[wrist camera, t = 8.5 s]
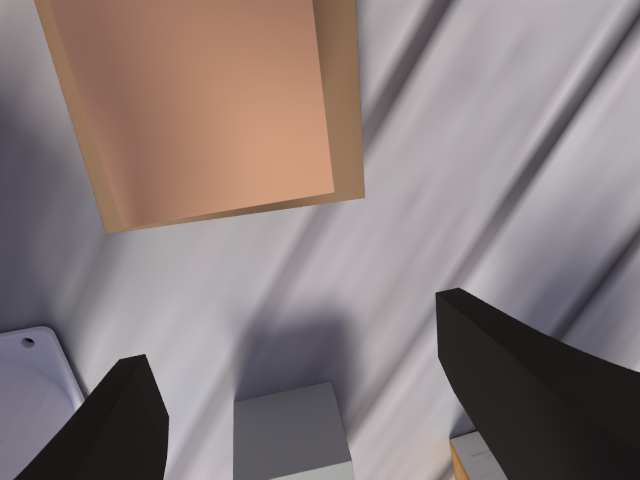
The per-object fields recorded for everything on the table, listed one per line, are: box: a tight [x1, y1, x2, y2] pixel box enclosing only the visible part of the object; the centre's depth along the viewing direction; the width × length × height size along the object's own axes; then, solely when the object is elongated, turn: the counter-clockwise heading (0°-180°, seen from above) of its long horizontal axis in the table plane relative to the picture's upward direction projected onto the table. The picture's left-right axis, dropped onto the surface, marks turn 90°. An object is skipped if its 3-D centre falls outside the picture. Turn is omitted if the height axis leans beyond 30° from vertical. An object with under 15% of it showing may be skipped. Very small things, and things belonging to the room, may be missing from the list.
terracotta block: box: [48, 0, 334, 228], centre depth 13 cm, size 5×5×5 cm
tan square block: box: [34, 0, 365, 234], centre depth 17 cm, size 9×9×4 cm
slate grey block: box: [233, 381, 355, 480], centre depth 23 cm, size 5×5×5 cm
